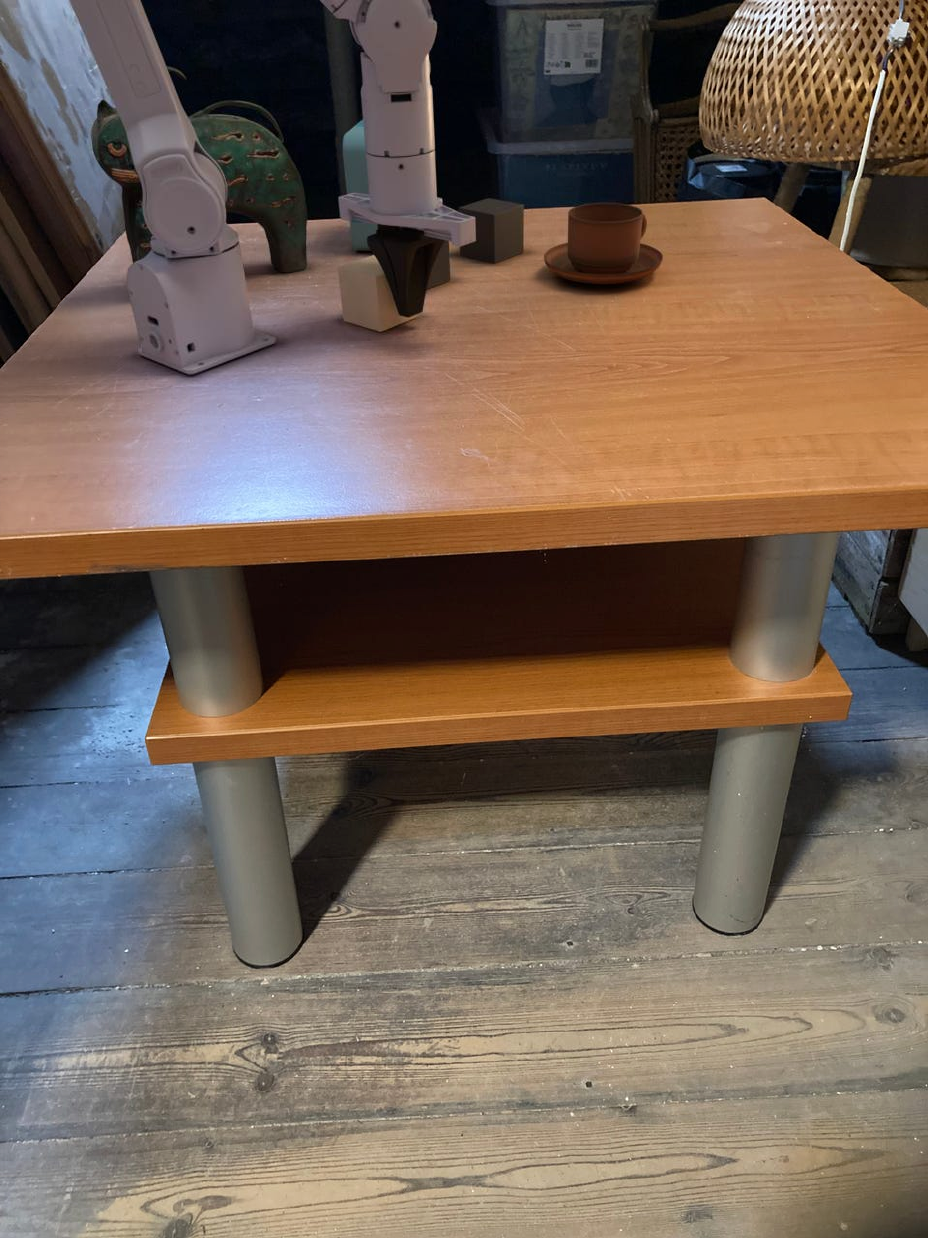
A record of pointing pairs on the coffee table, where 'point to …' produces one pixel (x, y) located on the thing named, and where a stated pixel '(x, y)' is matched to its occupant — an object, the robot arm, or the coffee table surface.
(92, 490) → the coffee table surface
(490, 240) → the far block
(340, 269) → the cream block
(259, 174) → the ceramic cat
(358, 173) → the data package
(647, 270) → the cup and saucer
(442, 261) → the middle block
